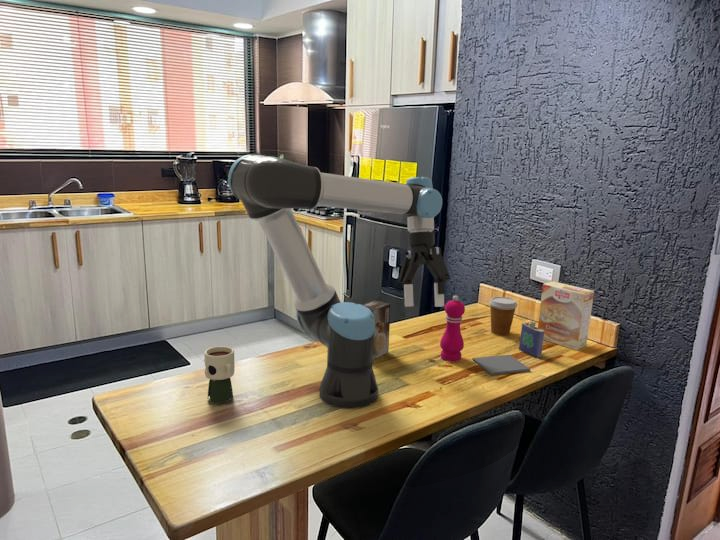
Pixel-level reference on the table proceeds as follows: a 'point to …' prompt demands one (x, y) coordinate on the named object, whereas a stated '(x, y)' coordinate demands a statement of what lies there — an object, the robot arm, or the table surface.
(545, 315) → the coffeecake box
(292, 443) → the table surface
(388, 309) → the coffee box
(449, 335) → the pepper mill
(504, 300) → the disposable coffee cup
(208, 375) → the character mug
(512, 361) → the charcoal mat
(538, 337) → the flask
